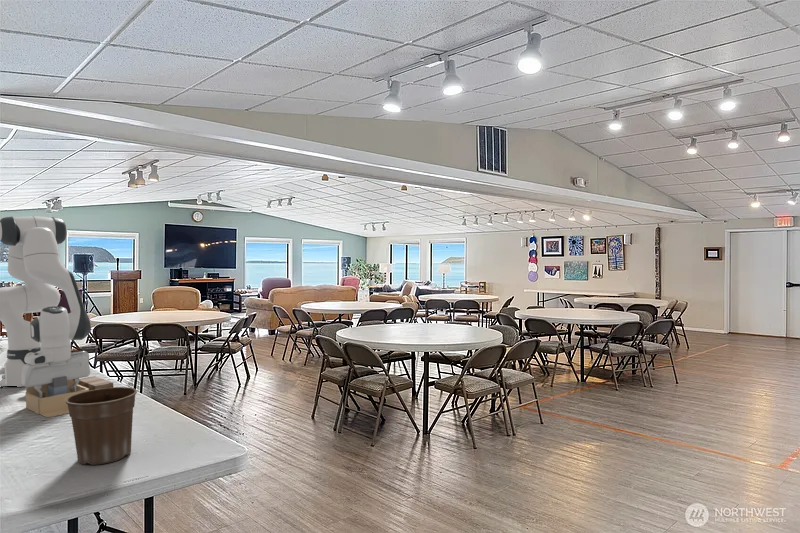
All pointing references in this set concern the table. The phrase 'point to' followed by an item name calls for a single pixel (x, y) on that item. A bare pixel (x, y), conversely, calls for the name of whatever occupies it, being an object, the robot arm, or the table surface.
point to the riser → (95, 383)
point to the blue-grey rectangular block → (57, 386)
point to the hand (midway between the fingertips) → (57, 394)
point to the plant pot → (102, 423)
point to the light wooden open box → (50, 400)
